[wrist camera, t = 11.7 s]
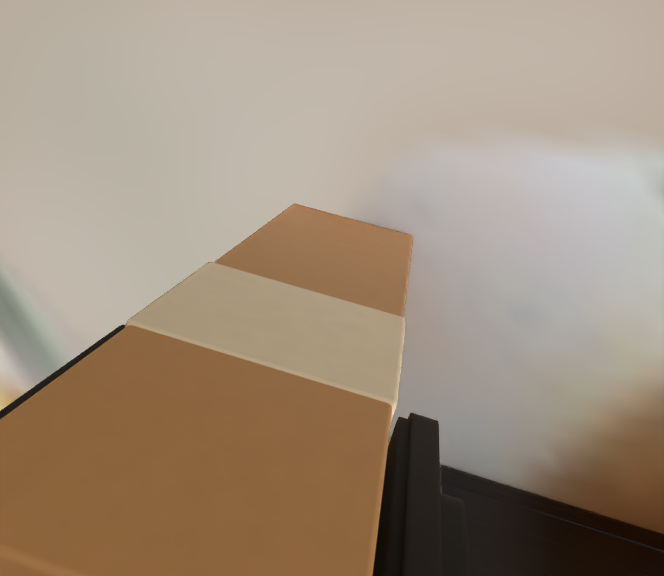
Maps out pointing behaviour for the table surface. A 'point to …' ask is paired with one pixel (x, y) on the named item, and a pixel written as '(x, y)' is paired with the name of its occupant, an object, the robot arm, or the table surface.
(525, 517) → the cabinet
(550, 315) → the table surface
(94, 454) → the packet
